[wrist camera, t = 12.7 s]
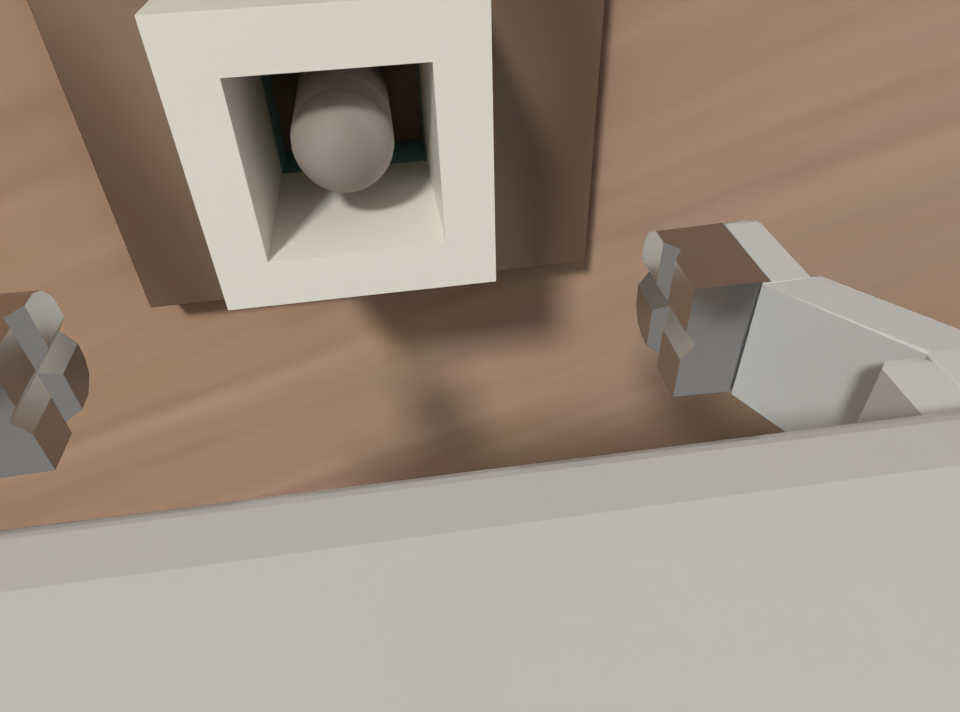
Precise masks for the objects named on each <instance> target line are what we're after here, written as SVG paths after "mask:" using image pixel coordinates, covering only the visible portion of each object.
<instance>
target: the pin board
mask: <svg viewBox="0 0 960 712" xmlns="http://www.w3.org/2000/svg"><path fill="white" fill-rule="evenodd" d="M27 1H28V4H29V6H30V9H31V11H32V14H33V16H34V19H35V21H36V24H37V26H38V29H39V31H40V34H41V36H42V39H43V41H44V44H45V46H46V48H47V51H48V53H49V56H50V58H51V61H52V63H53V66H54V68H55V71H56V73H57V76H58V78H59V81H60V83H61V86H62V88H63V91H64V93H65V96H66V98H67V101H68V103H69V106H70V108H71V111H72V113H73V115H74V118H75V120H76V123H77V125H78V128H79V130H80V133H81V135H82V138H83V140H84V143H85V145H86V148H87V150H88V153H89V155H90V158H91V160H92V163H93V165H94V168H95V170H96V173H97V175H98V178H99V180H100V182H101V185H102V187H103V190H104V192H105V195H106V197H107V200H108V202H109V205H110V207H111V210H112V212H113V215H114V217H115V220H116V222H117V225H118V227H119V230H120V232H121V235H122V237H123V240H124V242H125V245H126V247H127V249H128V252H129V254H130V257H131V259H132V262H133V264H134V267H135V269H136V272H137V274H138V277H139V279H140V282H141V284H142V287H143V289H144V292H145V294H146V297H147V299H148V302H149V304H150V307H159V306H169V305H178V304H187V303H197V302H206V301H216V300H225V299H224V296H223V293H222V289H221V286H220V283H219V280H218V277H217V274H216V271H215V267H214V264H213V261H212V258H211V255H210V252H209V249H208V245H207V242H206V239H205V236H204V233H203V230H202V227H201V223H200V220H199V217H198V214H197V211H196V208H195V205H194V201H193V198H192V195H191V192H190V189H189V186H188V183H187V179H186V176H185V173H184V170H183V167H182V164H181V161H180V157H179V154H178V151H177V148H176V145H175V142H174V139H173V135H172V132H171V129H170V126H169V123H168V120H167V117H166V113H165V110H164V107H163V104H162V101H161V98H160V95H159V91H158V88H157V85H156V82H155V79H154V76H153V73H152V69H151V66H150V63H149V60H148V57H147V54H146V51H145V47H144V44H143V41H142V38H141V35H140V32H139V29H138V25H137V22H136V19H135V16H134V15H135V14H136V13H137V12H138V11H139V10H140V9H141V8H142V7H143V6H144V5H145V4H146V3H147V2H148V1H149V0H27ZM604 4H605V0H491V26H492V82H493V138H494V194H495V249H496V270H506V269H515V268H524V267H534V266H543V265H553V264H562V263H571V262H581V261H585V252H586V239H587V226H588V213H589V200H590V186H591V173H592V160H593V147H594V134H595V121H596V108H597V95H598V82H599V69H600V56H601V43H602V30H603V17H604ZM270 78H271V82H272V87H273V92H274V96H275V101H276V106H277V110H278V115H279V120H280V124H281V129H282V134H283V138H284V143H285V147H286V151H293V154H294V158H295V160H296V161H297V163H298V165H299V167H300V168H301V170H302V171H303V172H304V173H305V174H306V176H307V177H308V178H309V179H311V180H312V181H313V182H314V183H316V184H317V185H319V186H321V187H323V188H325V189H328V190H331V191H335V192H341V193H350V192H355V191H360V190H362V189H365V188H368V187H369V186H371V185H372V184H374V183H375V182H376V181H377V180H378V179H379V178H380V177H381V176H382V175H383V174H384V173H385V171H386V170H387V168H388V167H389V164H390V162H391V160H392V156H393V150H394V142H396V141H408V140H419V139H422V134H421V122H420V110H419V98H418V87H417V75H416V63H413V64H400V65H386V66H373V67H360V68H347V69H334V70H321V71H308V72H295V73H282V74H270Z"/></svg>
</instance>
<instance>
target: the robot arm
mask: <svg viewBox="0 0 960 712" xmlns="http://www.w3.org/2000/svg"><path fill="white" fill-rule="evenodd" d="M642 260H643V261H644V263H645V265H646V266H647V268H648V270H649V273H648V274H647V275H646V276H645V278H644V279H643V280H642V281H641V282H640V283H639V285H638V292H637V302H636V307H637V319H638V325H639V328H640V332H641V335H642V337H643V339H644V341H645V343H646V345H647V346H648V347H650V348H651V349H653V350H655V351H657V352H658V353H659V357H658V363H657V367H658V369H659V371H660V373H661V374H662V376H663V378H664V380H665V382H666V384H667V386H668V388H669V390H670V392H671V393H672V395H673V397H676V396H686V395H697V394H708V393H719V392H730V391H732V395H734V396H735V397H737V398H738V399H739V400H741V401H742V402H744V403H745V404H747V405H748V406H749V407H751V408H752V409H754V410H755V411H757V412H758V413H759V414H761V415H762V416H764V417H765V418H766V419H768V420H769V421H771V422H772V423H774V424H775V425H776V426H778V427H779V428H781V429H782V430H784V431H785V432H783V433H775V434H767V435H759V436H751V437H743V438H735V439H727V440H719V441H711V442H703V443H695V444H687V445H679V446H672V447H664V448H656V449H648V450H640V451H632V452H624V453H616V454H608V455H600V456H592V457H584V458H576V459H568V460H560V461H552V462H544V463H536V464H528V465H520V466H512V467H504V468H496V469H488V470H480V471H472V472H464V473H456V474H448V475H440V476H432V477H424V478H416V479H408V480H400V481H392V482H384V483H376V484H368V485H360V486H352V487H344V488H336V489H328V490H320V491H312V492H304V493H296V494H288V495H280V496H272V497H264V498H256V499H248V500H240V501H232V502H224V503H216V504H208V505H200V506H192V507H184V508H176V509H168V510H160V511H152V512H144V513H136V514H128V515H120V516H112V517H104V518H96V519H88V520H80V521H72V522H64V523H56V524H48V525H40V526H32V527H24V528H16V529H8V530H0V712H960V330H959V329H957V328H954V327H952V326H949V325H946V324H944V323H941V322H939V321H936V320H933V319H931V318H928V317H925V316H923V315H920V314H918V313H915V312H912V311H910V310H907V309H905V308H902V307H899V306H897V305H894V304H892V303H889V302H886V301H884V300H881V299H879V298H876V297H873V296H871V295H868V294H866V293H863V292H860V291H858V290H855V289H853V288H850V287H847V286H845V285H842V284H840V283H837V282H834V281H832V280H829V279H827V278H824V277H813V278H811V277H810V276H809V275H808V274H807V273H806V272H805V271H804V270H803V269H802V268H801V267H800V265H799V264H798V263H797V262H796V261H795V260H794V259H793V258H792V257H791V256H790V255H789V254H788V252H787V251H786V250H785V249H784V248H783V247H782V246H781V245H780V244H779V243H778V242H777V241H776V239H775V238H774V237H773V236H772V235H771V234H770V233H769V232H768V231H767V230H766V229H765V228H764V226H763V225H762V224H761V223H760V222H758V221H755V220H752V219H748V220H740V221H733V222H726V223H718V224H710V225H702V226H694V227H686V228H678V229H670V230H661V231H654V232H649V233H648V235H647V238H646V240H645V243H644V249H643V255H642ZM63 319H64V316H63V314H62V312H61V311H60V309H59V307H58V305H57V304H56V302H55V300H54V298H53V297H52V296H50V295H49V294H47V293H45V292H43V291H28V292H15V293H3V294H0V478H4V477H11V476H18V475H25V474H32V473H39V472H46V471H53V470H56V468H57V465H58V463H59V461H60V459H61V456H62V454H63V452H64V450H65V447H66V445H67V443H68V441H69V438H70V436H71V434H72V432H71V431H70V429H69V427H68V425H67V424H66V421H68V420H69V419H70V418H72V417H73V416H74V415H75V414H77V413H78V412H79V411H81V410H82V409H83V406H84V404H85V401H86V399H87V396H88V393H89V371H88V367H87V364H86V360H85V357H84V355H83V353H82V351H81V349H80V347H79V345H78V343H77V342H75V341H73V340H72V339H70V338H69V337H67V336H66V335H64V334H62V333H61V332H59V330H60V327H61V324H62V322H63Z"/></svg>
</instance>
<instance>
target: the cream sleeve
mask: <svg viewBox="0 0 960 712" xmlns="http://www.w3.org/2000/svg"><path fill="white" fill-rule="evenodd" d="M134 16H135V19H136V22H137V25H138V29H139V32H140V35H141V38H142V41H143V44H144V47H145V51H146V54H147V57H148V60H149V63H150V66H151V69H152V73H153V76H154V79H155V82H156V85H157V88H158V91H159V95H160V98H161V101H162V104H163V107H164V110H165V113H166V117H167V120H168V123H169V126H170V129H171V132H172V135H173V139H174V142H175V145H176V148H177V151H178V154H179V157H180V161H181V164H182V167H183V170H184V173H185V176H186V179H187V183H188V186H189V189H190V192H191V195H192V198H193V201H194V205H195V208H196V211H197V214H198V217H199V220H200V223H201V227H202V230H203V233H204V236H205V239H206V242H207V245H208V249H209V252H210V255H211V258H212V261H213V264H214V267H215V271H216V274H217V277H218V280H219V283H220V286H221V289H222V293H223V296H224V299H225V302H226V305H227V308H228V310H236V309H245V308H254V307H263V306H273V305H282V304H291V303H300V302H310V301H319V300H328V299H337V298H346V297H356V296H365V295H374V294H383V293H393V292H402V291H411V290H420V289H429V288H439V287H448V286H457V285H466V284H476V283H485V282H494V281H496V249H495V194H494V138H493V82H492V26H491V0H149V1H148V2H147V3H146V4H145V5H144V6H143V7H142V8H141V9H140V10H139V11H138V12H137V13H136V14H135V15H134ZM413 63H416V75H417V87H418V98H419V110H420V122H421V134H422V139H419V140H408V141H396V142H394V150H393V156H392V160H391V162H390V164H389V167H388V168H387V170H386V171H385V173H384V174H383V175H382V176H381V177H380V178H379V179H378V180H377V181H376V182H375V183H374V184H372V185H371V186H369V187H368V188H365V189H362V190H360V191H355V192H350V193H341V192H335V191H331V190H328V189H325V188H323V187H321V186H319V185H317V184H316V183H314V182H313V181H312V180H311V179H309V178H308V177H307V176H306V174H305V173H304V172H303V171H302V170H301V168H300V167H299V165H298V163H297V161H296V160H295V158H294V154H293V151H286V147H285V143H284V138H283V134H282V129H281V124H280V120H279V115H278V110H277V106H276V101H275V96H274V92H273V87H272V82H271V78H270V74H282V73H295V72H308V71H321V70H334V69H347V68H360V67H373V66H386V65H400V64H413Z"/></svg>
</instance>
